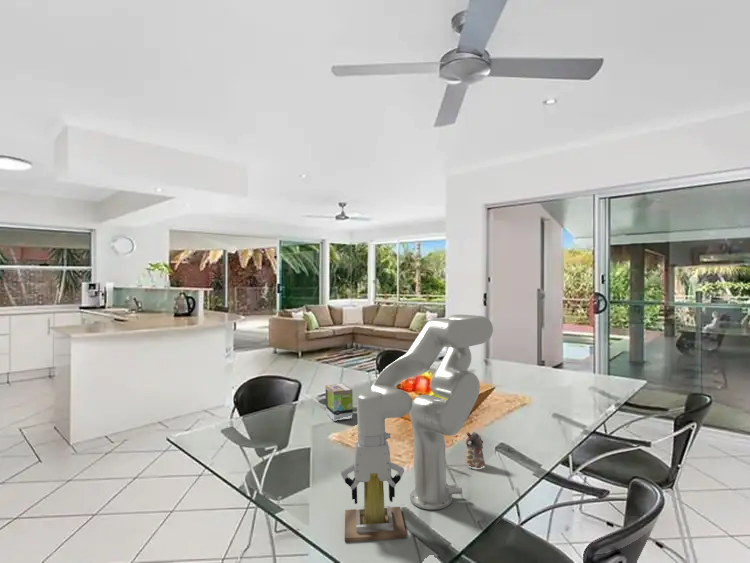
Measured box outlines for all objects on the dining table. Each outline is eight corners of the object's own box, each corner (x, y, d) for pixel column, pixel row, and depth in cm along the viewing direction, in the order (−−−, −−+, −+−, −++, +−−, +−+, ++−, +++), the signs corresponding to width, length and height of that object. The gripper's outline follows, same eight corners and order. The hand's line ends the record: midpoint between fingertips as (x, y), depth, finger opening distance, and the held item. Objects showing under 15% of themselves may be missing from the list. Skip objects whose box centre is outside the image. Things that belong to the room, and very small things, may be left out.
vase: (373, 512, 125) (371, 463, 125) (390, 519, 122) (388, 468, 122) (359, 522, 121) (357, 470, 121) (376, 530, 117) (375, 476, 117)
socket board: (400, 510, 129) (399, 501, 129) (406, 538, 115) (405, 528, 115) (345, 513, 128) (345, 504, 128) (344, 542, 114) (344, 532, 114)
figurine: (485, 470, 153) (484, 436, 153) (464, 469, 154) (464, 435, 154) (484, 462, 160) (483, 429, 160) (464, 461, 161) (464, 428, 161)
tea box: (353, 419, 213) (352, 389, 213) (333, 422, 209) (332, 391, 209) (344, 411, 227) (343, 382, 227) (325, 413, 223) (324, 384, 223)
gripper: (401, 432, 125) (403, 492, 125) (340, 435, 124) (342, 495, 124) (404, 442, 118) (406, 505, 118) (339, 445, 117) (341, 509, 117)
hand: (373, 500), depth 121 cm, fingers open, 9 cm apart
